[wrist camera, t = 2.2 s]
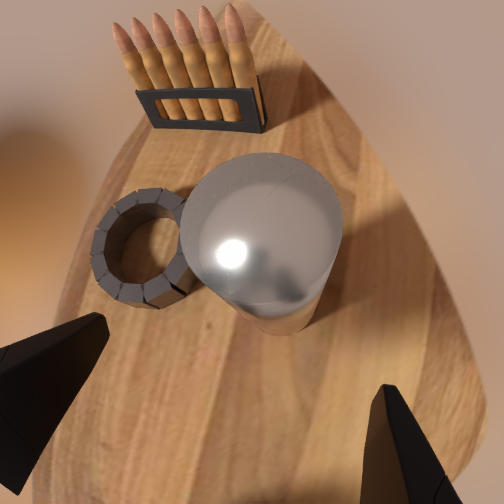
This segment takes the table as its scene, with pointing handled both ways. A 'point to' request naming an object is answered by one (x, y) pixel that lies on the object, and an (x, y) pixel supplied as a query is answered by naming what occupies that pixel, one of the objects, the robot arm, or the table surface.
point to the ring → (111, 245)
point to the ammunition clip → (195, 74)
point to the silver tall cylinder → (264, 238)
